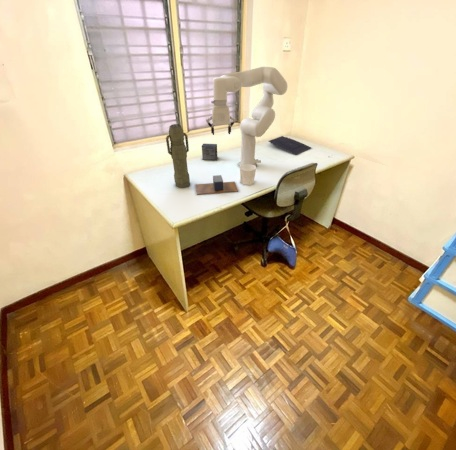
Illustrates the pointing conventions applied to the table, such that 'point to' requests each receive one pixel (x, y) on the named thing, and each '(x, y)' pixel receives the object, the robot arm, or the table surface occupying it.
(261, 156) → the table surface
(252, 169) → the cup
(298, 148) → the black flat slab
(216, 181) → the block
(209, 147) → the small box
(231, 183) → the mat
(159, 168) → the table surface
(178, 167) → the thermos
